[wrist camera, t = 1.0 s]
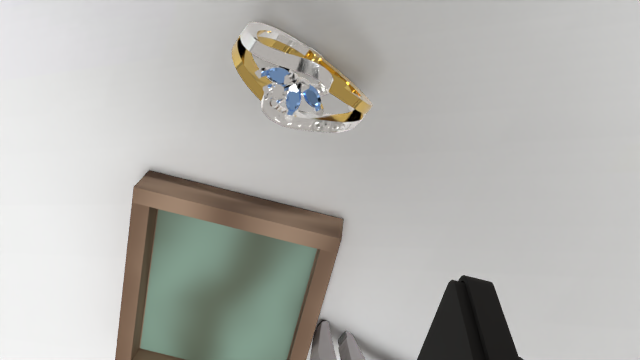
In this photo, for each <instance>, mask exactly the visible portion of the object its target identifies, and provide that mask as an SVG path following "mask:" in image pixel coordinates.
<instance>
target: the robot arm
mask: <svg viewBox="0 0 640 360" xmlns="http://www.w3.org/2000/svg"><path fill="white" fill-rule="evenodd" d="M417 360H523V359H522V358H521V357H518V354H517V351H516V348H515V345H514V342H513V340H512V337H511V334H510V331H509V328H508V325H507V322H506V319H505V317H504V314H503V311H502V308H501V305H500V302H499V299H498V296H497V294H496V291H495V288H494V285H493V284H492V282H489V281H485V280H481V279H477V278H473V277H469V276H465V275H463V276H461V278H460V279H459V281H455V280H451V281H450V282H449V283H448V286H447V288H446V290H445V293H444V295H443V298H442V300H441V302H440V305H439V307H438V310H437V312H436V315H435V317H434V319H433V322H432V324H431V327H430V329H429V332H428V334H427V337H426V339H425V341H424V344H423V346H422V349H421V351H420V354H419V356H418V359H417Z"/></svg>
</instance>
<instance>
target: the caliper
mask: <svg viewBox="0 0 640 360" xmlns="http://www.w3.org/2000/svg"><path fill="white" fill-rule="evenodd" d="M338 343H339V353H340V358H341V360H365V359H364V357H363V355H362V352H361V350H360V348H359V346H358V344H357V342H356V340H355V338H354V336H353V335H352V334H351V333H349V332H348V331H345V332H344V333H343V334H342V336H341V337H340V338H339V340H338ZM310 360H336V355H335V351H334V346H333V342H332V337H331V332H330V327H329V322H328V321H323V322H321V324H320V325H319V326H318V328H317V329H316V330H315V332H314V336H313V342H312V350H311V357H310Z"/></svg>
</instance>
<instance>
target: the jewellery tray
mask: <svg viewBox="0 0 640 360" xmlns="http://www.w3.org/2000/svg"><path fill="white" fill-rule="evenodd" d="M342 229H343V219H341V218H337V217H333V216H329V215H325V214H321V213H317V212H313V211H309V210H305V209H301V208H297V207H293V206H289V205H285V204H281V203H277V202H273V201H269V200H265V199H261V198H257V197H253V196H249V195H245V194H241V193H237V192H233V191H229V190H225V189H221V188H217V187H213V186H209V185H205V184H201V183H197V182H194V181H190V180H186V179H182V178H178V177H174V176H170V175H166V174H162V173H158V172H154V171H150V170H149V171H148V172H147V173H146V174H145V175H144V177H143V178H142V179H141V180H140V181H139V182H138V183H137V184H136V185H135V186H134V189H133V199H132V208H131V217H130V227H129V236H128V245H127V255H126V264H125V273H124V282H123V292H122V301H121V310H120V320H119V329H118V338H117V348H116V357H115V360H306V358H307V355H308V351H309V348H310V345H311V341H312V338H313V334H314V331H315V328H316V324H317V321H318V317H319V314H320V311H321V307H322V304H323V300H324V297H325V293H326V290H327V287H328V283H329V280H330V276H331V273H332V270H333V266H334V263H335V259H336V256H337V253H338V249H339V246H340V242H341V238H342Z"/></svg>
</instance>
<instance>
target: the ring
mask: <svg viewBox="0 0 640 360" xmlns="http://www.w3.org/2000/svg"><path fill="white" fill-rule="evenodd" d="M268 46H269V47H268ZM270 47H272V48H270ZM273 48H275V49H273ZM276 49H278V50H280V51H278V50H276ZM281 51H283V52H281ZM252 54H253V55H255V56H257V57H259V58H261V59H263V60H265V61H267V62H270V63H272V64H275V65H278V66H276V67H267V68H262V69H259V68H258V67H257V65H256V63H255V61H254V59H253V57H252ZM232 59H233V62H234V65H235V67H236V69H237V71H238V73H239V75H240V76H241V78H242V79H243V81H244V82H245V84H246V85H247V86H248V87H249V89H250V90H251V91H252V92H253V93H254V94H255V95H256V96H257V97H258V98H259V100H260V101H261V108H262V110H263V112H264V114H265V115H266V116H267V117H268V118H269V119H270V120H272V121H273V122H275V123H277V124H279V125H281V126H284V127H288V128H293V129H299V130H308V131H318V132H345V131H349V130H352V129H354V128H355V127H356V126H357V125H358V124H359V123H360V122H361V120H362V119H363V118H364V117H365V114H367V113H368V111H369V110H370V109H371V108H372V106H373V104H372V103H371V102H370V100H369V99H368V98H367V97H366V96H365V95H364V94H363V93H362V92H361V91H360V90H359V89H358V88H357V87H356V86H355V85H354V84H353V83H352V82H351V81H350V80H349V79H348V78H347V77H345V76H344V75H343V74H342V73H341V72H340V71H338V70H337V69H336V68H335V67H334V66H332V65H331V64H330V63H329V62H328V61H326V60H325V59H324V58H323V56H322V55H321V54H320V53H319V52H318V51H316V50H315V49H313V48H312V47H311V48H309V47H308V46H306V45H305V44H303V43H302V42H300V41H299V40H297V39H296V38H294V37H292V36H290V35H289V34H287V33H285V32H283V31H281V30H279V29H277V28H274V27H272V26H269V25H267V24H263V23H259V22H249V23H248V24H247V25H246V27H245V28H244V30H243V31H242V32H241V34H240V36H239V38H238V39H237V41H236V42H235V44H234V45H233V48H232ZM291 70H294V71H297V72H301V73H304V74H307V75H309V76H312V77H313V78H315V79H316V80H317V81H318V82H319V83H317V84H312V83H310V82H309V81H308V79H306V78H304V77H301V78H299V76H298V75H297V74H296V73H295V72H294V73H293V72H292V71H291ZM267 77H268V78H269V79H270V80H272V81H273V82H271V81H270V80H269V79H268V78H267ZM299 79H300V81H299ZM328 92H329V93H330V94H332V95H334V96H335V97H337V98H338V99H340V100H341V101H343V102H344V103H346V104H347V106H348V107H349V110H350V112H348V113H344V114H323V106H322V103H321V99H320V96H324V95H327V94H328ZM302 96H303V97H304V99H305V101H306V102H307V103H308V104H309V105H310V106H312V107H313V109H314V112H315V113H312V112H303V111H297V109H298V107H299V105H300V103H301V100H302ZM274 98H275V99H274ZM285 100H286V105H287V108H288V109H287V108H284V107H282V106H280V105H279V104H280V103H282V102H284V101H285Z"/></svg>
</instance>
